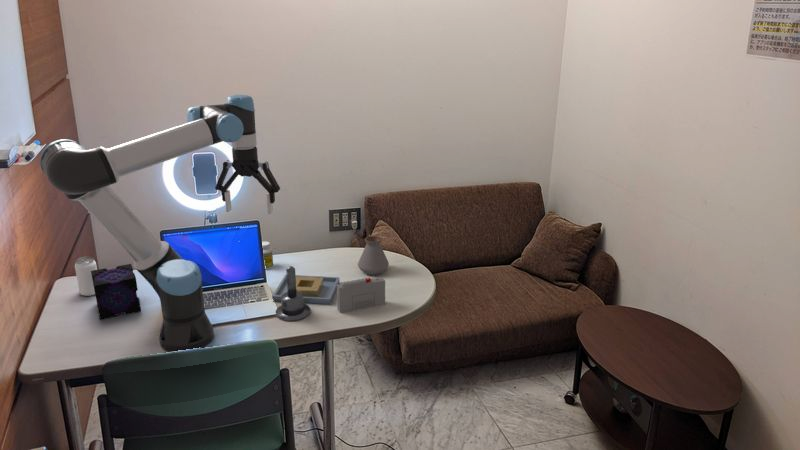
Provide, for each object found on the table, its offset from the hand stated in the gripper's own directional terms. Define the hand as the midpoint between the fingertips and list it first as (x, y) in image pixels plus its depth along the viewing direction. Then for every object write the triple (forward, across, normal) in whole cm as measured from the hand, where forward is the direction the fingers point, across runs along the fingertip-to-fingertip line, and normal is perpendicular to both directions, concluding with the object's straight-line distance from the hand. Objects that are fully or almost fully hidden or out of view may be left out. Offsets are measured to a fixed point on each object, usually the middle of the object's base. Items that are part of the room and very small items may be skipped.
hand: (249, 211), depth 191 cm
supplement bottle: (+31, +4, -24) cm, 39 cm away
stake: (+31, -15, +9) cm, 35 cm away
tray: (+31, -16, -6) cm, 35 cm away
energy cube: (+31, +42, +12) cm, 54 cm away
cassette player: (+31, -36, +2) cm, 48 cm away
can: (+31, +57, +3) cm, 65 cm away
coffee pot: (+31, -35, -30) cm, 55 cm away
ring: (+30, -16, -6) cm, 35 cm away
